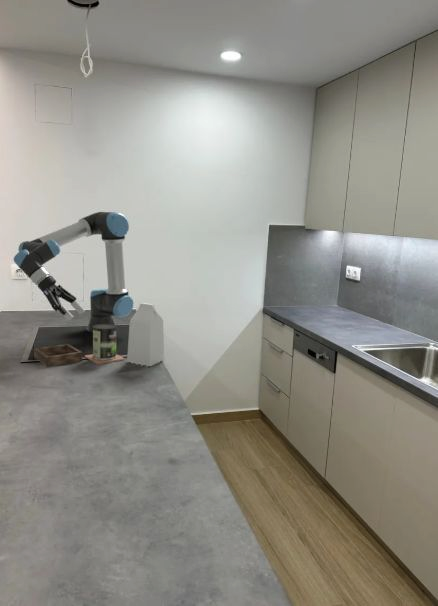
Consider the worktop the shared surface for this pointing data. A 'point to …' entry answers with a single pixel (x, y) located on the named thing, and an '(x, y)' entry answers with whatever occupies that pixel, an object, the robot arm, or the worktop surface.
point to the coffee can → (104, 341)
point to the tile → (104, 360)
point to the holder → (57, 355)
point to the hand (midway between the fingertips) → (77, 316)
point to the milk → (146, 336)
